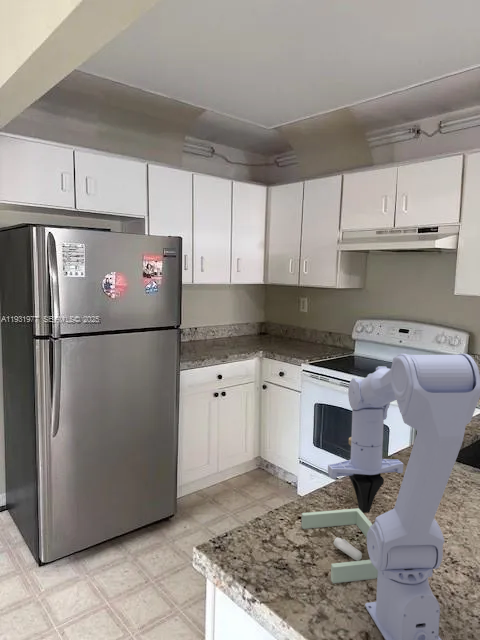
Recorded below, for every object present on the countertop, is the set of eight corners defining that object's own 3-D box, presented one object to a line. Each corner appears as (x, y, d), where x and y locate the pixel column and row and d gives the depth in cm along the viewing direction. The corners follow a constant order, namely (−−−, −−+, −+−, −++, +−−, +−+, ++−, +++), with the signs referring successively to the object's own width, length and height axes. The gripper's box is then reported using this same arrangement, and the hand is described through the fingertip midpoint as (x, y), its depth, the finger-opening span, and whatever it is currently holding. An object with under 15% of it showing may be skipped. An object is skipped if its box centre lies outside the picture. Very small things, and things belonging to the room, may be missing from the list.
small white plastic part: (350, 568, 83) (350, 552, 83) (331, 549, 89) (331, 534, 89) (365, 563, 85) (366, 547, 84) (346, 545, 90) (346, 530, 90)
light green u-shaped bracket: (401, 575, 81) (402, 559, 81) (332, 583, 79) (333, 567, 79) (358, 521, 99) (359, 508, 99) (301, 526, 97) (301, 513, 96)
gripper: (391, 432, 91) (387, 496, 92) (322, 436, 88) (320, 502, 89) (410, 445, 84) (407, 514, 85) (337, 450, 81) (334, 522, 82)
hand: (363, 510), depth 87 cm, fingers closed
